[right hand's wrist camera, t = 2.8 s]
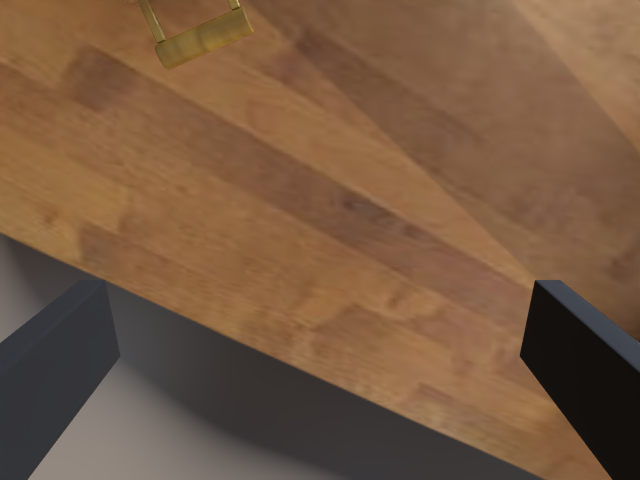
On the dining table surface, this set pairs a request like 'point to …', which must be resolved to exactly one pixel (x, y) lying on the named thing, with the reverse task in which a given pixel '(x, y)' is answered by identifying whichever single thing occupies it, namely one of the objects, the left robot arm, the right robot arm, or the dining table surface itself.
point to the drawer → (196, 34)
